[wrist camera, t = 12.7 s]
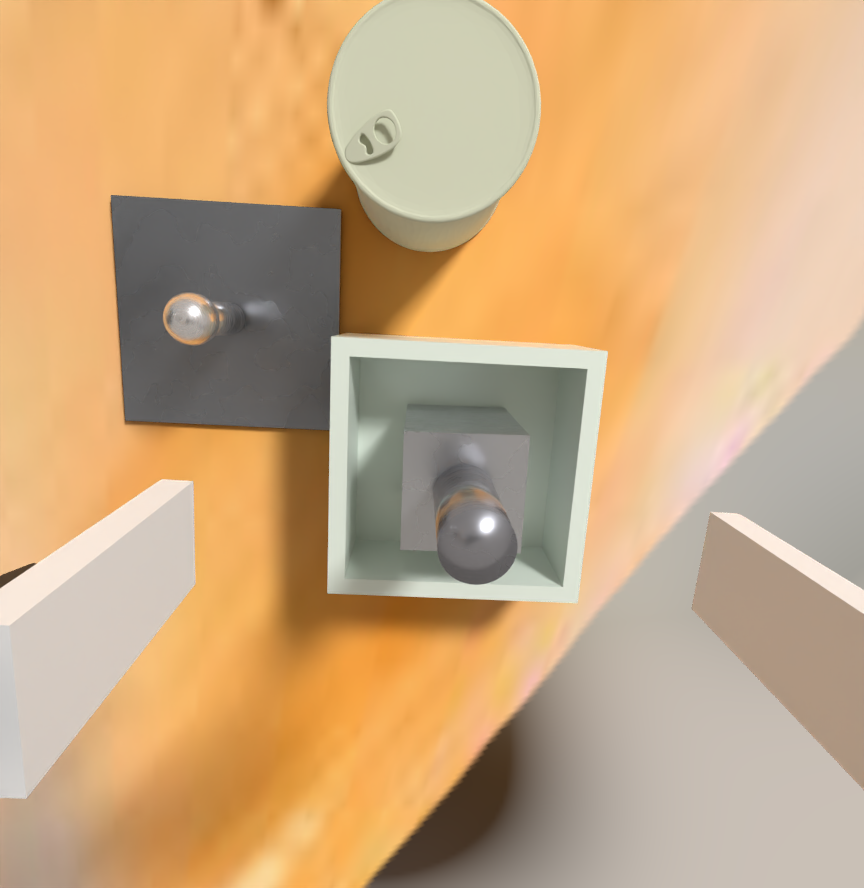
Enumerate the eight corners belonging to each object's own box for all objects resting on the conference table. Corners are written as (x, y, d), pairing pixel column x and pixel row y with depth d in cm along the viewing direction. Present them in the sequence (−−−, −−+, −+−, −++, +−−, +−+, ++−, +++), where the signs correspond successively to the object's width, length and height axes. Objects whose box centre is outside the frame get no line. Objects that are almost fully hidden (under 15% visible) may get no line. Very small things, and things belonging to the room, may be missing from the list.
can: (327, 139, 35) (281, 50, 23) (462, 62, 34) (485, -70, 22) (399, 278, 37) (389, 261, 25) (528, 208, 36) (580, 157, 24)
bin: (342, 546, 41) (327, 593, 34) (347, 332, 37) (331, 336, 31) (551, 555, 41) (577, 603, 34) (573, 344, 38) (607, 351, 31)
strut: (404, 496, 39) (394, 618, 23) (407, 403, 37) (399, 467, 22) (497, 499, 39) (550, 622, 23) (504, 407, 38) (564, 472, 22)
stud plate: (128, 419, 38) (54, 446, 30) (114, 196, 35) (27, 162, 27) (337, 429, 39) (317, 458, 31) (341, 210, 36) (320, 181, 28)
